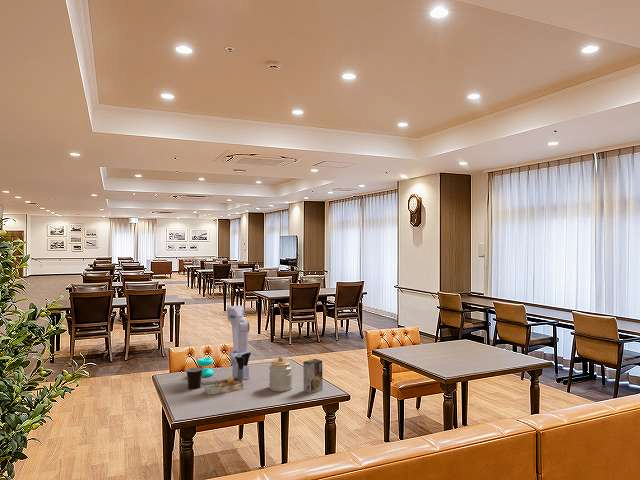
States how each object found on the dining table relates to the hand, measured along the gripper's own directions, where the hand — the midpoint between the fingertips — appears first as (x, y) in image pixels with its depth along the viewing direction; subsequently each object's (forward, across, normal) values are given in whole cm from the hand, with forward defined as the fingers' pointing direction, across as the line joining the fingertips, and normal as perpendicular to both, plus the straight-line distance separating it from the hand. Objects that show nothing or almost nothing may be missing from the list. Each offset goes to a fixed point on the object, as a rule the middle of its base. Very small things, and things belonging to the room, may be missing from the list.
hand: (243, 367), depth 260 cm
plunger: (+7, +2, -2) cm, 8 cm away
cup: (+11, +12, -13) cm, 21 cm away
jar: (+11, 0, +22) cm, 24 cm away
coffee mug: (+11, +5, -26) cm, 29 cm away
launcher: (+11, +6, -6) cm, 14 cm away
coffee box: (+11, +1, +40) cm, 42 cm away
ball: (+6, +6, -5) cm, 10 cm away
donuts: (+10, -17, -30) cm, 36 cm away
